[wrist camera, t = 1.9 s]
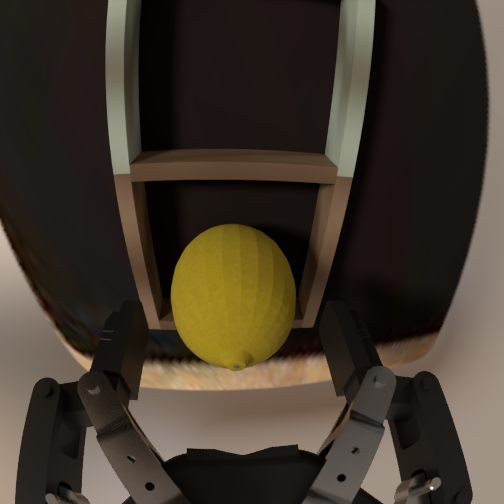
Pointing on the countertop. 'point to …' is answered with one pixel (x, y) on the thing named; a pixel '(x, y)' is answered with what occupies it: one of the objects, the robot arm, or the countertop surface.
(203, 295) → the lemon
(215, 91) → the countertop surface
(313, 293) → the frame
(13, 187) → the countertop surface
